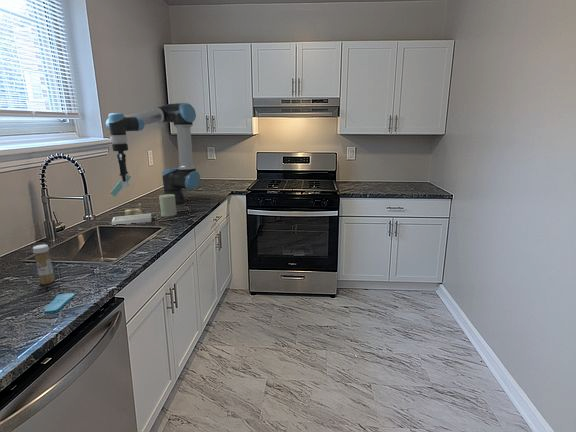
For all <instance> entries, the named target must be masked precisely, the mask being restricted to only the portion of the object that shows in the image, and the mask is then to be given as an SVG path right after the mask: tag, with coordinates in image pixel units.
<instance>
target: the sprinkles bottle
mask: <svg viewBox="0 0 576 432" xmlns="http://www.w3.org/2000/svg"><path fill="white" fill-rule="evenodd" d="M32 253H33V255H34V258H35V262H36V263H35V264H36V268H37V269H36V270H37V274H38V278H39V279H38V280H39V283H40V284H41V285H47V284H52V283H53V282H54V281H55V280H56V279H55V275H54V271H53V266H52V260H51V256H50V248H49V245H48V244H37V245H35V246H33V247H32Z"/></svg>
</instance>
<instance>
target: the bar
mask: <svg viewBox="0 0 576 432" xmlns="http://www.w3.org/2000/svg"><path fill="white" fill-rule="evenodd" d="M126 175H127V182H128V183H129V180H130V179H131V178H132V177H131V176H130V174H129V173H127V174H126ZM122 189H123V187H122V180H121V179H120V180H119V181H118V183H117V184H116V185H115V186H114V188H112V190H111V191H110V192H109V194H110V195H111V196H113V197H116V196H118V194H119V192H121V190H122Z"/></svg>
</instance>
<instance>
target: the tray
mask: <svg viewBox="0 0 576 432" xmlns="http://www.w3.org/2000/svg"><path fill="white" fill-rule="evenodd" d="M151 222H152V213H142V214H140V215H130V216H125V215H123V216H114V217H113V218H112V220H111V226H112V225H116V224H126V225H132V224H131V223H136V224H143V223H151Z"/></svg>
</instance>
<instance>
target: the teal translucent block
mask: <svg viewBox="0 0 576 432" xmlns="http://www.w3.org/2000/svg"><path fill="white" fill-rule="evenodd" d="M137 207H138V208H132V209H131V208H130V209H125V210H124V216H130V215H140V214H143V211H142V210H143V209H142V203H138V204H137Z"/></svg>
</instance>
